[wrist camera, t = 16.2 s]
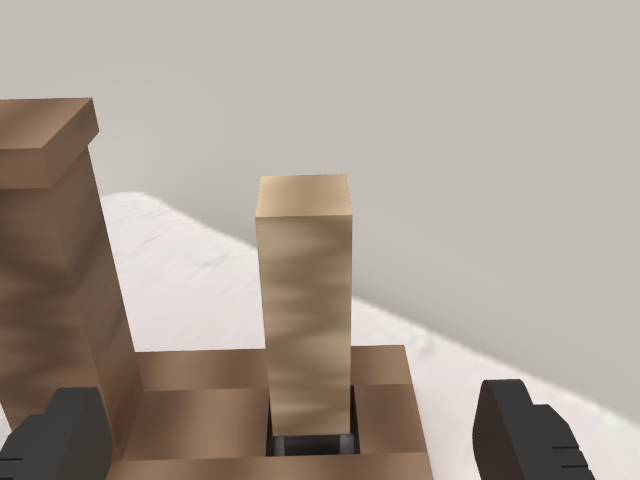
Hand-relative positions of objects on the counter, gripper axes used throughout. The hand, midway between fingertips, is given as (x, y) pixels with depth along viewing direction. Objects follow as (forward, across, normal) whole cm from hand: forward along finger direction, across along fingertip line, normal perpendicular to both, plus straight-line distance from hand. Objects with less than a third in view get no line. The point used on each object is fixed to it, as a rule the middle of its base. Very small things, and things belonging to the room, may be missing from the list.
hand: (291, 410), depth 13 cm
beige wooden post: (+14, -1, +20) cm, 25 cm away
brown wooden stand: (+14, +4, +20) cm, 25 cm away
